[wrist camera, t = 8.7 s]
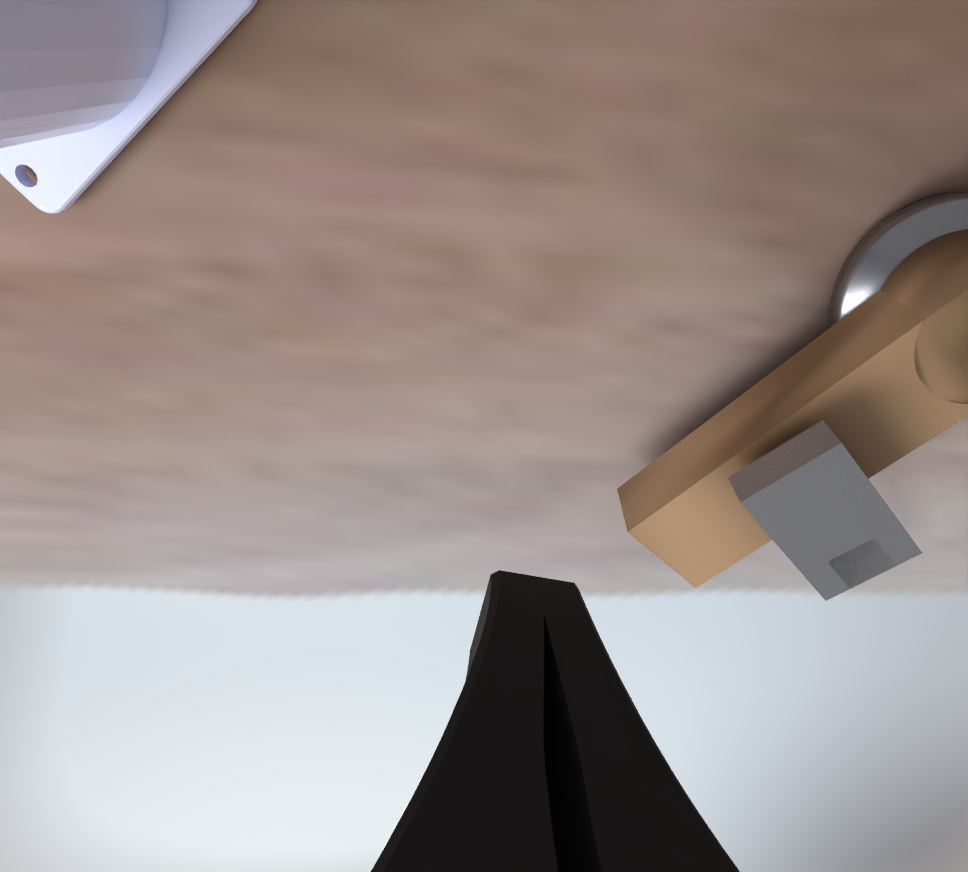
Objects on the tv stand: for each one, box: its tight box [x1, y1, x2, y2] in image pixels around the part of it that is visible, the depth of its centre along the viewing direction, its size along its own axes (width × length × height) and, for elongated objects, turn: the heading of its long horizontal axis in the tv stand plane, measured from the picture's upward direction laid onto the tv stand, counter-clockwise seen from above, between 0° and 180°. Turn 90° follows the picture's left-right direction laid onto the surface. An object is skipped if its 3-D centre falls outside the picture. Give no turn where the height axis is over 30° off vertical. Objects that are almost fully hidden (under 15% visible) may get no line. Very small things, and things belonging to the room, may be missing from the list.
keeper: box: [728, 420, 922, 600], centre depth 17 cm, size 2×4×5 cm, turn 43°
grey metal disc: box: [830, 193, 968, 326], centre depth 17 cm, size 5×5×1 cm
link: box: [617, 229, 968, 588], centre depth 16 cm, size 11×4×4 cm, turn 137°
